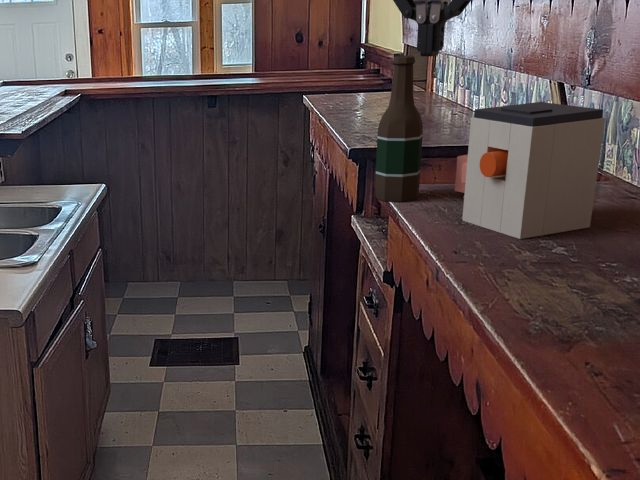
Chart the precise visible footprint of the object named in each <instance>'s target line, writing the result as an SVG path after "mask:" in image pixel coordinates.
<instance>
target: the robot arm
mask: <svg viewBox="0 0 640 480" xmlns="http://www.w3.org/2000/svg"><path fill="white" fill-rule="evenodd" d="M392 1H393V3H394V5H395V6H396V7H397V10H398V11H399V12H400V13H401V15H402V16H403V18H404V19H405V20H408V19H409V20H412V21H415V23H416V24H417V34H416V36H417V37H416V49H417V52H419V53H420V57H437V56H438V55H439V53H440V52H441V51H442V50H443V48H444V46H445V44H444V43H445V33H446V32H445V30H446V23H447V21H449V20H451V19H454V18H455V17H459V16H461V15H462V13H463V12H464V10H465V9H466V8H467V6H468V5H469V4H470V3H471V2H472V0H392Z"/></svg>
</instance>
